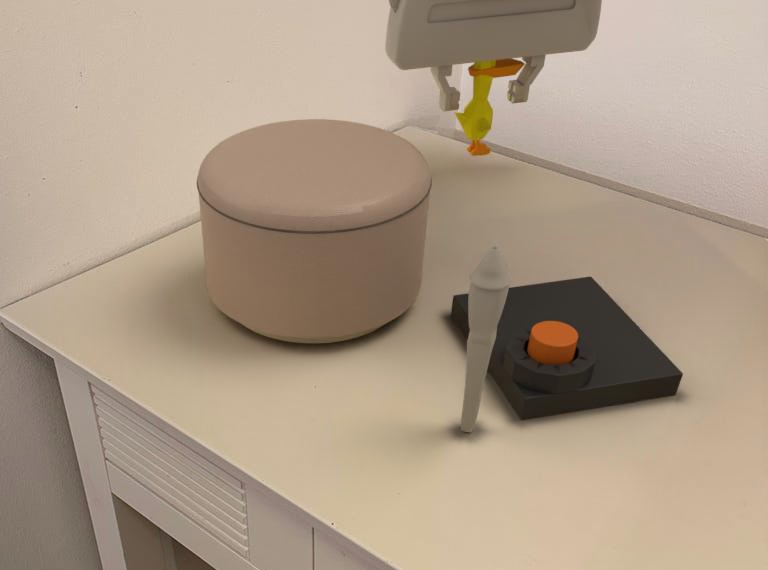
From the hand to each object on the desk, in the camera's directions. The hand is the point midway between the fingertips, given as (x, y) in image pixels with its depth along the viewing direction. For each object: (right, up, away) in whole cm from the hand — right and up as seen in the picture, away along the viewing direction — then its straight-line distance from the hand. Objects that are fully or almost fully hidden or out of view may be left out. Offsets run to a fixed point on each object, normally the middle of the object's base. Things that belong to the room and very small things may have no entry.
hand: (483, 105), depth 88 cm
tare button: (-1, -28, -26) cm, 38 cm away
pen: (-7, -34, -27) cm, 44 cm away
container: (-17, -22, -13) cm, 31 cm away
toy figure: (0, -4, +3) cm, 5 cm away
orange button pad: (+1, -28, -20) cm, 34 cm away
